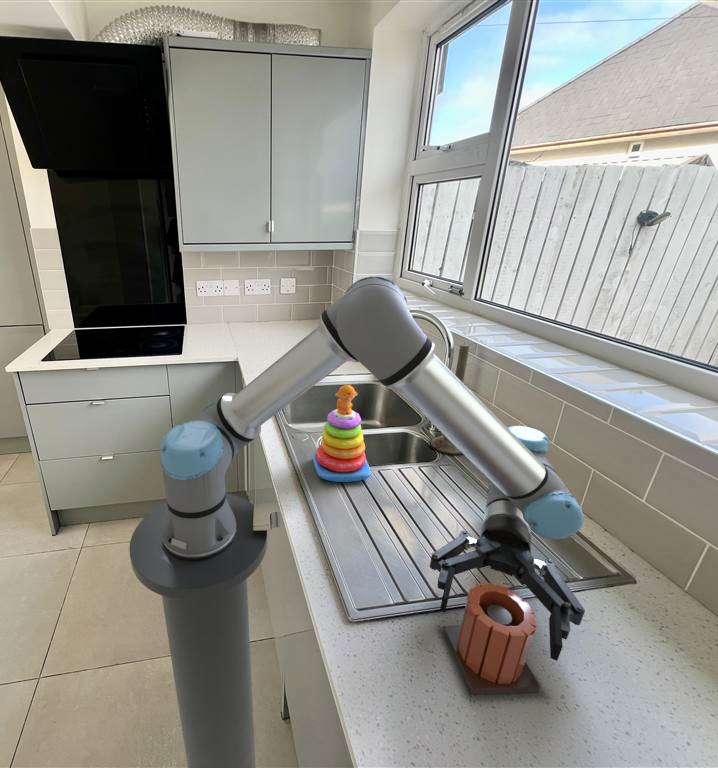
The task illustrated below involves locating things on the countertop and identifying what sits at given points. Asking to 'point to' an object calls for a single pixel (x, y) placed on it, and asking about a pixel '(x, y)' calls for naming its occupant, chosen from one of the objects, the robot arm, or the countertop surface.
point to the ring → (496, 634)
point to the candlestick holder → (443, 442)
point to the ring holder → (474, 681)
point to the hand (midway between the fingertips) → (496, 627)
